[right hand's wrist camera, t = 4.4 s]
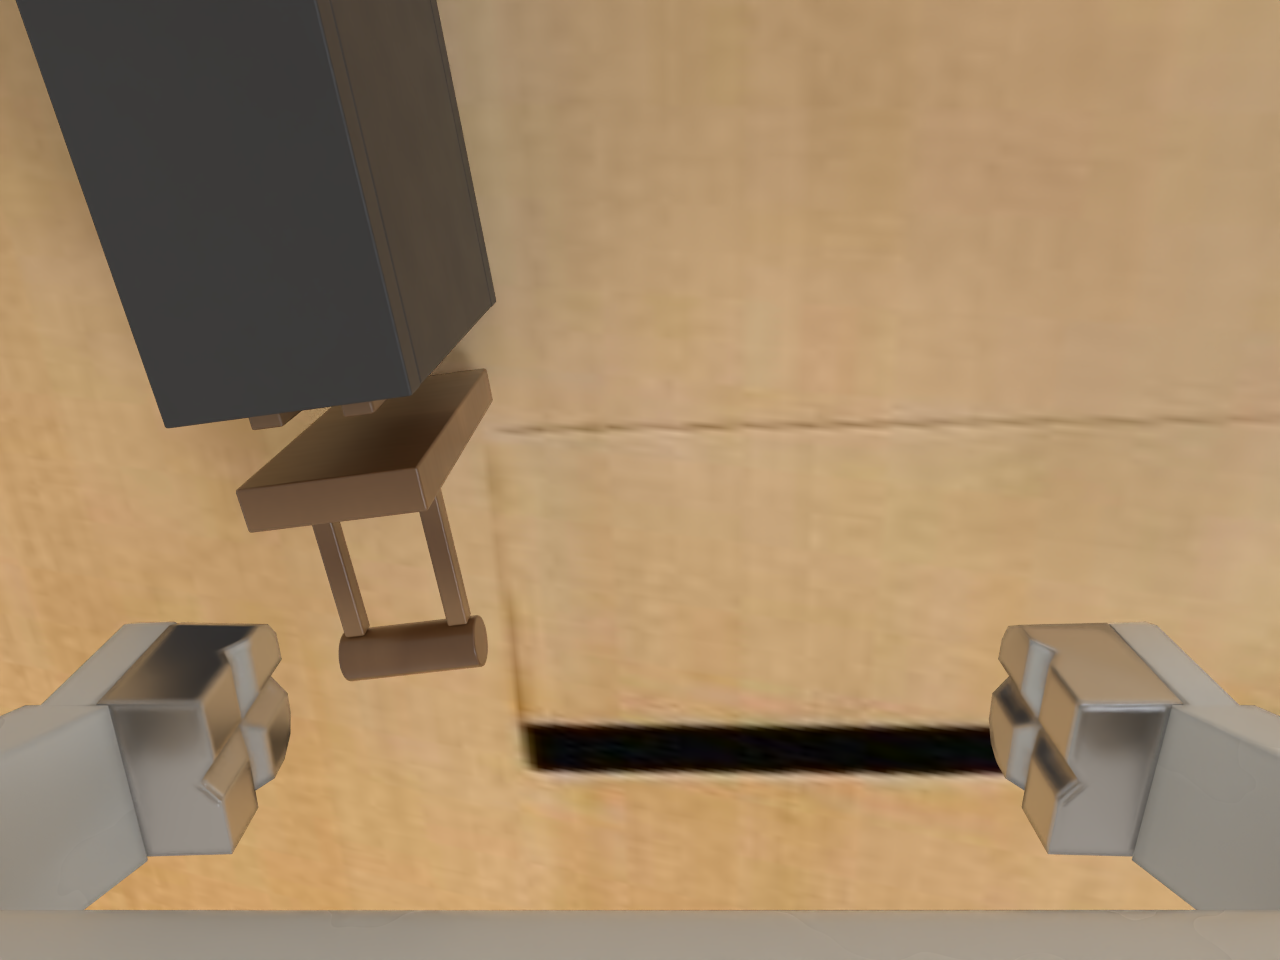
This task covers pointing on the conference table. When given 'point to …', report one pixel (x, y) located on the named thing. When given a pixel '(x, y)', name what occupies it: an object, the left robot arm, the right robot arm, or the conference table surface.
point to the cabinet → (271, 193)
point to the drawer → (380, 511)
